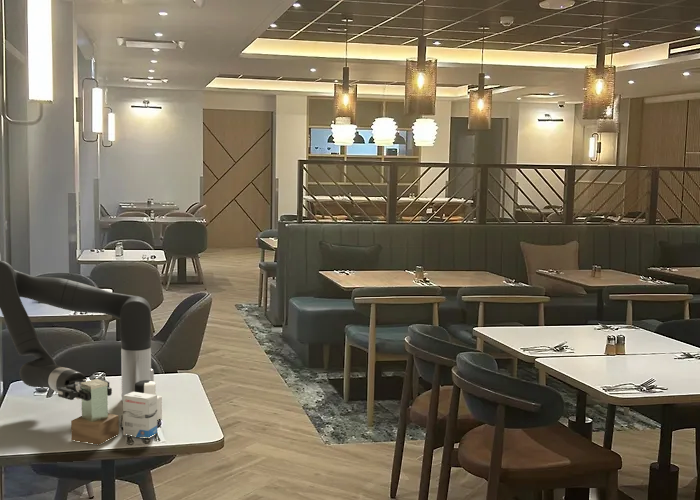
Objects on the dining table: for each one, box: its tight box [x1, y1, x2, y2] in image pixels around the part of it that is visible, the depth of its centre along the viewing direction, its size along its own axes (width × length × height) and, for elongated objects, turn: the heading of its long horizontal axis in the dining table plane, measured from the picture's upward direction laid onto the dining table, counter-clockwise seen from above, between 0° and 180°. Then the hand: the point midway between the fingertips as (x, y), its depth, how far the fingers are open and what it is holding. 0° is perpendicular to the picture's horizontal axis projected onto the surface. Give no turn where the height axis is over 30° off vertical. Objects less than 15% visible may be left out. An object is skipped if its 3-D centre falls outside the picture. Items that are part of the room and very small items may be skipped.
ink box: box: [122, 392, 158, 438], centre depth 224 cm, size 8×5×12 cm, turn 71°
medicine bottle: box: [135, 380, 163, 421], centre depth 236 cm, size 7×7×12 cm
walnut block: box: [70, 413, 120, 446], centre depth 221 cm, size 9×9×6 cm
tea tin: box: [81, 378, 109, 422], centre depth 220 cm, size 5×5×10 cm
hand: (99, 394), depth 218 cm, fingers open, 6 cm apart
